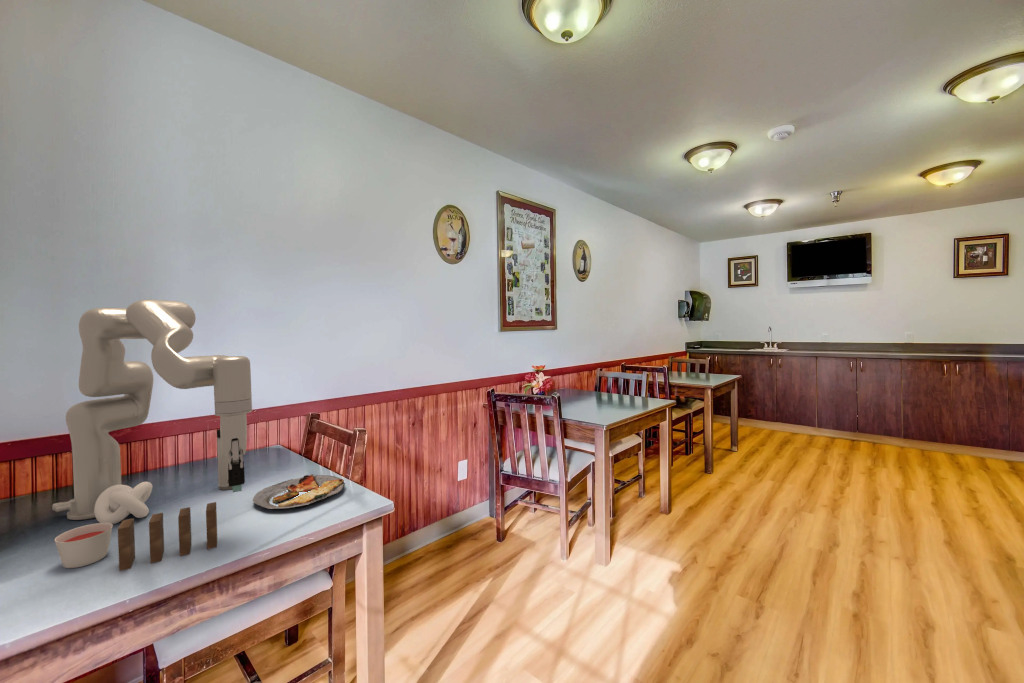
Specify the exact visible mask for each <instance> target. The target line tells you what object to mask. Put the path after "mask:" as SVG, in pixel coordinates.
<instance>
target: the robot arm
mask: <svg viewBox="0 0 1024 683" xmlns="http://www.w3.org/2000/svg"><path fill="white" fill-rule="evenodd" d="M195 323H196V313H195V311H194V309H193V308H192V307H191V306H190V305H189V304H188V303H185V302H184V301H180V300H163V299H141V300H136V301H134V302H132V303H131V304H129V305H128V306H127V307H97V308H96V307H95V308H91V309H89V310H87V311H84V313H83V314H82V315H81V317H80V319H79V322H78V333H79V336H80V341H81V345H82V353H81V359H80V367H79V368H80V369H79V377H78V390H79V392H80V393H81V395H83V396H85V397H89V398H90V397H91V398H98V399H90V400H86V401H81V402H78V403H75V404H74V405H72V406H70V407H69V408H68V409H67V410H66V412H65V413H66V414H65V422H66V427H67V430H68V433H69V437H70V442H71V452H72V472H73V474H72V475H73V476H72V477H73V494H74V498H72V499H69V501H61V502H56V503H53V504H52V505H51V506H52V511H53V512H54V511H55V512H56V513H58V512H63V511H67V510H68V512H67V513H66V518H67V519H68V520H70V521H71V520H74V521H80V520H82V521H83V520H89V519H96V517H95V514H94V507H95V503H96V501H97V499H98V497H99V496H100V494H101V493H102V492H103V491H104V490H106V489H107V488H109V487H111V486H114V485H119V484H122V468H121V467H122V466H121V465H122V464H121V462H122V461H121V448H120V443H119V442H118V441H117V440H116V438H114V437H112V435H110V434H109V433H110V432H114V431H118V430H122V429H127V428H132V427H137V426H141V425H142V424H143V423H145V422H146V420H147V419H148V417H149V412H150V407H151V399H152V395H153V394H152V393H153V389H154V388H153V387H154V374H153V371H152V368H153V370H154V371H155V372H156V373H157V375H159V377H160V378H162V379H163V380H164V381H165V382H166V383H167V384H169V386H172V387H173V388H176V389H180V390H190V389H197V388H204V387H213V396H214V397H213V400H214V416H215V417H219V418H220V419H219V420H220V422H219V429H220V438H221V457H222V458H225V456H228V454H229V457H228V458H229V463H228V482H229V486H230V487H231V486H236V485H244V484H245V482H246V480H245V479H246V478H245V477H246V476H245V465H244V463H245V462H244V455H245V454H246V453H247V443H248V442H247V441H248V440H247V439H248V422H247V419H248V418H247V414H249V413H252V412H253V399H252V395H253V394H252V375H251V373H252V371H251V361H250V359H249V358H248V357H247V356H244V355H243V356H242V355H237V356H235V355H232V356H231V355H230V356H229V355H224V354H223V355H219V354H217V355H199V356H197V355H196V356H194V355H193V356H184V357H183V356H181V355H180V354H179V353H181V352H182V351H184V350H185V349H186V348H188V347H189V346H190V344H192V342H193V339H194V333H193V332H194V331H193V330H192V328H193V327H194V325H195ZM142 339H143V340H144V339H145V340H146V341H148V342H149V343H150V344H151V345H152V346H153V347H152V349H151V353H150V354H151V355H150V358H151V359H150V360H151V363H152V366H153V367H152V368H151V367H150V366H149V365H148V364H147V363H145V362H143V361H141V360H127V361H126V360H125V356H126V348H125V345H124V343H123V342H122V341H121V340H142ZM120 395H123V396H120ZM112 396H113V397H112ZM114 396H116V397H114ZM101 397H106V398H101ZM239 452H240V455H239ZM231 454H232V456H231ZM239 457H240V459H239ZM231 459H233V460H231ZM109 508H110V511H111V512H112V513H113V511H112V510H111V507H110V506H109Z"/></svg>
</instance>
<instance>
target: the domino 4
mask: <svg viewBox="0 0 1024 683" xmlns="http://www.w3.org/2000/svg"><path fill="white" fill-rule="evenodd" d="M217 518H218V515H217V501H214V502H210V503H207V504H206V508H205V521H206V522H205V523H206V525H205V526H206V527H205V528H206V549H207V550H210V549H215V548H217V547H218V519H217Z"/></svg>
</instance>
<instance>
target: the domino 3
mask: <svg viewBox="0 0 1024 683" xmlns="http://www.w3.org/2000/svg"><path fill="white" fill-rule="evenodd" d="M191 517H192V516H191V507H190V506H188V507H184V508H180V509H179V513H178V516H177V518H178V519H177V520H178V521H177V522H178V541H179V542H178V547H179V557H182V556H187V555H191V549H192V521H191V520H192V518H191Z"/></svg>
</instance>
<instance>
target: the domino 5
mask: <svg viewBox="0 0 1024 683" xmlns="http://www.w3.org/2000/svg"><path fill="white" fill-rule="evenodd" d="M239 455H240V452H239ZM231 456H232V454H231ZM239 459H240V457H239ZM231 460H233V459H231ZM242 485H243V484H242ZM242 485H236V486H232V488H233V489H232V493H238V492H242V490H243V488H242V487H243V486H242Z"/></svg>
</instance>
